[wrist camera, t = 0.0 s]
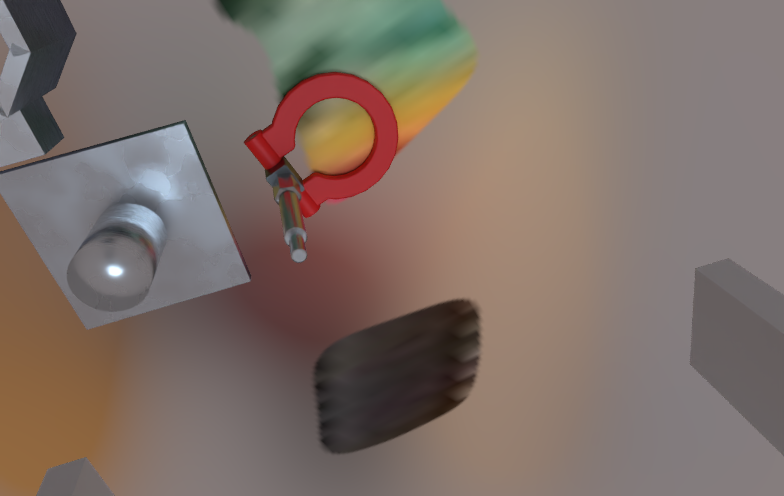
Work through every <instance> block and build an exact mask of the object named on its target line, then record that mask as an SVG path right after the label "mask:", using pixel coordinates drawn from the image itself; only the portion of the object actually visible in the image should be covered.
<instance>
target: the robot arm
mask: <svg viewBox="0 0 784 496" xmlns="http://www.w3.org/2000/svg"><path fill="white" fill-rule="evenodd" d="M691 337H692V338H691V353H690V365H691V366H692V367H693V368H694V369H695V370H696V371H697V372H698V373H699V374H700V375H701V376H702V377H703V378H704V379H706V380H707V381H708V382H709V383H710V384H711V385H712V386H713V387H714V388H715V389H716V390H717V391H718V392H719V393H720V394H721V395H722V396H723V397H724V398H725V399H726V400H727V401H728V402H729V403H730V404H731V405H732V406H733V407H734V408H735V409H736V410H737V411H738V412H739V413H740V414H741V415H742V416H743V417H745V419H746V420H747V421H748V422H750V424H752V426H754V427H755V428H756V429H757V430H758V431H759V432H760V433H761V434H762V435H763V436H764V437H765V438H766V439H767V440H768V441H769V442H770V443H771V444H772V445H773V446H774V447H775V448H776V449H777V450H778V451H779V452H780V453H781V454H782V455H783V456H784V295H783V294H781V293H780V292H779V291H777V290H775V289H774V288H773V287H771V286H769V285H768V284H766V283H765V282H764V281H762V280H761V279H759V278H758V277H756V276H754V275H753V274H751V273H750V272H749V271H747V270H745V269H744V268H742V267H741V266H739V265H738V264H736V263H735V262H733V261H732V260H730V259H729V258H727V259H724V260H721V261H718V262H714V263H712V264H708V265H705V266H701V267H698V268H695V283H694V300H693V318H692V336H691ZM36 496H115V495H114V494H113V493H112V491H111V490H110V489H109V487H108V486H107V485H106V483H105V482H104V481H103V479H102V478H101V477H100V475H99V474H98V472H97V471H96V470H95V468H94V467H93V466H92V465H91V463H90V462H89V461H88V459H87V458H86V457H85V458H82V459H78V460H75V461H72V462H69V463H66V464H62V465H59V466H56V467H53V468H50V469H48V470H47V472H46V475H45V477H44V479H43V482H42V484H41V486H40V488H39V491H38V493H37V495H36Z"/></svg>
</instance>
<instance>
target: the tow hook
mask: <svg viewBox="0 0 784 496" xmlns="http://www.w3.org/2000/svg"><path fill="white" fill-rule="evenodd" d="M329 98H343V99H348V100H351V101H353V102H356V103H358V104H359V105H360V106H361V107H363V108H364V109H365V110H366V111H367V113H368V114H369V115H370V117H371V120H372V122H373V125H374V132H375V139H374V145H373V148H372V151H371V153H370V155H369V157H368V158H367V159H366V161H365V162H364V163H363V164H362V165H361V166H360V167H358V168H357V169H356V170H354V171H352V172H350V173H347V174H344V175H338V176H330V175H323V174H321V173H318V172H316V173H312V174H311V175H310V176H308V177H307V178H305V179H304V180H302V178H301V177H300V176H299V175H298V173H297V172H296V171H295V170H294V168H293V167H292V166H291V164H290V163H289V162H288V161H287V159H286V158H285V157H284V156H285V155H286V154H287V153H289V152H290V151H292V150H293V149H294V147H295V131H296V127H297V125H298V122H299V120H300V118H301V117H302V115H303V114H304V113H305V111H306V110H307V109H309V108H310V107H311V106H312V105H314V104H315V103H317V102H320V101H322V100H324V99H329ZM244 143H245V145H246V146H247V147H248V148H249V149H250V151H251V152H252V153H253V155H254V156H255V157H256V158H257V159H258V161H259V162H260V163H261V164H262V165H263V167H264V168H265V173H266V180H267V181H268V183H269V184H270V185H271V186H272V187H273V193H274V200H275V201H276V203H277V204H278V205H279V207H280V214H281V220H282V227H283V234H284V240H285V242H286V244H287V245H288V246H290V252H291V258H292V260H293V261H295V262H298V263H300V262H303V261H304V260H306V258H307V252H306V247H305V243H306V241H307V234H306V229H305V225H304V220H303V216H304V217H305V218H307V217H310V216H312V215H313V214H315V213H316V212H317V211H318V210H319V208H320V204H321V203H323V202H324V201H326V200H327V199H341V198H347V197H352V196H355V195H357V194H359V193H362V192H364V191H366V190H368V189H369V188H370V187H371V186H373V185H374V184H375V183H376V182H378V181H379V180H380V179H381V178H382V176H383V175H384V174H385V173H386V171H387V170H388V169H389V167H390V165H391V163H392V161H393V158H394V156H395V154H396V148H397V143H398V128H397V121H396V118H395V115H394V112H393V110H392V107H391V106H390V104H389V103H388V101H387V100H386V98H385V97H384V95H383V94H382V93H381V92H380V91H379V90H377V89H376V88H375V87H374V86H373V85H371V84H370V83H369V82H368V81H366V80H364V79H361V78H359V77H357V76H355V75H352V74H346V73H339V72H330V73H322V74H317V75H315V76H312V77H310V78H307V79H305V80H303V81H301V82H300V83H299V84H297V85H296V86H295V87H293V88H292V89H291V90H290V91H288V93H287V94H286V95H285V97H284V98H283V100H282V101H281V102H280V104H279V105H278V107H277V110H276V113H275V115H274V118H273V121H272V124H271V125H269V126H268V127H267V128H265V129H264V130H258V131H256V132H254V133H252V134H251V135H250V136H249V137H248V138H247V139H246V140H245V141H244ZM302 215H303V216H302Z"/></svg>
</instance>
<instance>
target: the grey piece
mask: <svg viewBox="0 0 784 496" xmlns="http://www.w3.org/2000/svg"><path fill="white" fill-rule="evenodd" d="M0 33H1V35H2V37H3V39H4V40H5V42H6V44H7V46H8V48H9V53H8V56H7V58H6V61H5V64H4V67H3V70H2V73H1V76H0V167H2V166H6V165H9V164H13V163H16V162H20V161H24V160H28V159H31V158H35V157H38V156H42V155H45V154H46V153H47V152H48V151H50V150H51V149H52V148H53V147H54V146H55V145H56V144H58V143H59V142H60V141H61V140H62V139H63V138H64V136H63V134H62V133H61V130H60V129H59V127H58V125H57V123H56V121H55V119H54V118H53V116H52V114H51V112H50V110H49V108H48V106H47V105H46V103H45V101H44V99H43V97H42V96H43V95H45V94H46V93H48V92H49V91H51V90H53V89H54V88H56V86H57V84H58V81H59V78H60V76H61V73H62V70H63V68H64V65H65V62H66V60H67V57H68V55H69V52H70V49H71V47H72V44H73V41H74V39H75V36H76V32H75V30H74V28H73V25H72V24H71V21H70V19H69V17H68V15H67V13H66V11H65V9H64V7H63V5H62V3H61V1H60V0H0Z"/></svg>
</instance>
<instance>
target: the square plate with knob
mask: <svg viewBox="0 0 784 496" xmlns="http://www.w3.org/2000/svg"><path fill="white" fill-rule="evenodd" d="M0 193H1V195H2V197H3V198H4V200H5V201H6V203H7V205H8V206H9V208H10V209H11V211H12V212H13V214H14V216H15V217H16V219H17V220H18V222H19V224H20V225H21V227H22V228H23V230H24V231H25V233H26V234H27V236H28V238H29V239H30V241H31V242H32V244H33V245H34V247H35V249H36V250H37V252H38V253H39V255H40V256H41V258H42V260H43V261H44V263H45V264H46V266H47V268H48V269H49V271H50V272H51V274H52V275H53V277H54V278H55V280H56V282H57V283H58V285H59V286H60V288H61V290H62V291H63V293H64V294H65V296H66V297H67V299H68V300H69V302H70V304H71V305H72V307H73V309H74V310H75V312H76V313H77V315H78V316H79V318H80V320H81V321H82V323H83V324H84V326H85V327H86V329H91V328H94V327H98V326H101V325H104V324H108V323H111V322H115V321H118V320H121V319H125V318H128V317H131V316H135V315H138V314H141V313H145V312H148V311H152V310H155V309H158V308H162V307H165V306H168V305H172V304H175V303H179V302H182V301H185V300H189V299H192V298H196V297H199V296H202V295H206V294H209V293H212V292H216V291H219V290H223V289H226V288H229V287H233V286H236V285H239V284H243V283H246V282H250V281H251V274H250V272H249V270H248V267H247V265H246V262H245V260H244V258H243V255H242V253H241V251H240V249H239V246H238V243H237V241H236V239H235V236H234V234H233V232H232V229H231V227H230V224H229V222H228V220H227V218H226V215H225V213H224V210H223V208H222V206H221V203H220V201H219V199H218V196H217V194H216V192H215V189H214V187H213V184H212V182H211V179H210V177H209V175H208V172H207V170H206V168H205V166H204V163H203V160H202V158H201V156H200V153H199V151H198V149H197V146H196V144H195V142H194V139H193V137H192V134H191V132H190V130H189V127H188V125H187V122H186V120H184V121H181V122H177V123H173V124H170V125H166V126H163V127H159V128H155V129H152V130H148V131H145V132H141V133H137V134H134V135H130V136H127V137H123V138H119V139H116V140H112V141H109V142H105V143H102V144H97V145H94V146H90V147H87V148H83V149H80V150H76V151H72V152H69V153H65V154H61V155H58V156H54V157H51V158H47V159H43V160H40V161H36V162H33V163H29V164H26V165H22V166H19V167H15V168H12V169H7V170H4V171H0Z"/></svg>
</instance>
